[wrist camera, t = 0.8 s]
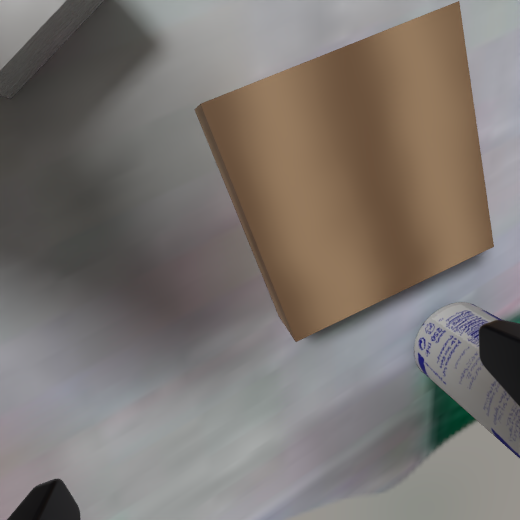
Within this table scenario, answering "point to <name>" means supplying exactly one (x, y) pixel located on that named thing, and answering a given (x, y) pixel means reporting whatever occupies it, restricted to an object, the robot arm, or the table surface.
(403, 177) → the stand
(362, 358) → the table surface
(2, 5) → the gray rectangular block
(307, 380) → the table surface
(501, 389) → the beverage can
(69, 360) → the table surface
